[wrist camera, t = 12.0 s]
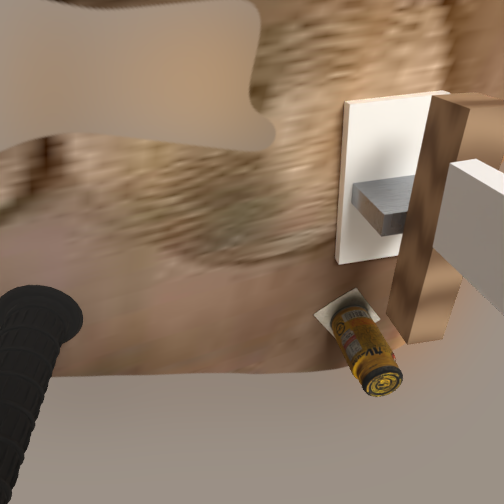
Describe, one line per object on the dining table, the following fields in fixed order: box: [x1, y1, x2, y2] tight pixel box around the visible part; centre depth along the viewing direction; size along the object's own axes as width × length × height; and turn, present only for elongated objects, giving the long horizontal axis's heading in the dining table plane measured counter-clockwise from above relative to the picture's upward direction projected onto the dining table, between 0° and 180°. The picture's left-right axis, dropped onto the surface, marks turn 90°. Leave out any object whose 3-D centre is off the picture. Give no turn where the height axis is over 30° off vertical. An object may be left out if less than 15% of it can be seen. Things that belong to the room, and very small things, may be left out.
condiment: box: [313, 288, 403, 397], centre depth 53 cm, size 7×8×12 cm
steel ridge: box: [351, 175, 415, 237], centre depth 42 cm, size 2×9×8 cm, turn 94°
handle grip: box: [0, 285, 83, 504], centre depth 38 cm, size 10×26×10 cm
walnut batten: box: [386, 92, 504, 345], centre depth 37 cm, size 24×4×5 cm, turn 2°
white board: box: [335, 90, 450, 265], centre depth 46 cm, size 20×11×2 cm, turn 4°
